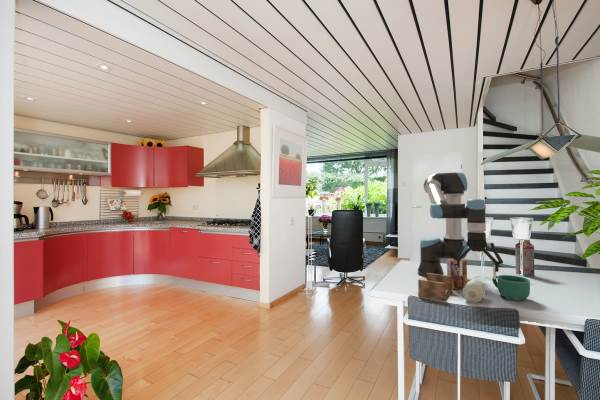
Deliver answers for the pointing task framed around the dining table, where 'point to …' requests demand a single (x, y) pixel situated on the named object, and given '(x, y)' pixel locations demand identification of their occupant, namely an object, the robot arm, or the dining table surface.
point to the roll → (473, 291)
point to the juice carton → (525, 258)
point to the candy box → (457, 273)
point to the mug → (512, 286)
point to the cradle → (435, 286)
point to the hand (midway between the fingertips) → (477, 276)
